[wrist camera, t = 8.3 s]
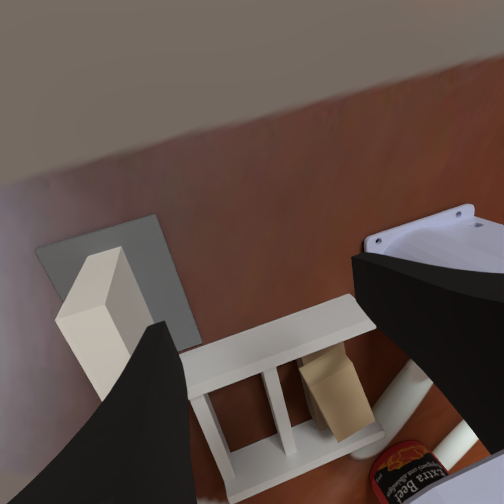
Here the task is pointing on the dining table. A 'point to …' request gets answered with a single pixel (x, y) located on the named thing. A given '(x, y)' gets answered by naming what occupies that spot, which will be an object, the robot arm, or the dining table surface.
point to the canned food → (404, 472)
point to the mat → (142, 265)
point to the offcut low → (310, 399)
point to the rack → (274, 395)
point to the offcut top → (338, 393)
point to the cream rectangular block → (104, 317)
